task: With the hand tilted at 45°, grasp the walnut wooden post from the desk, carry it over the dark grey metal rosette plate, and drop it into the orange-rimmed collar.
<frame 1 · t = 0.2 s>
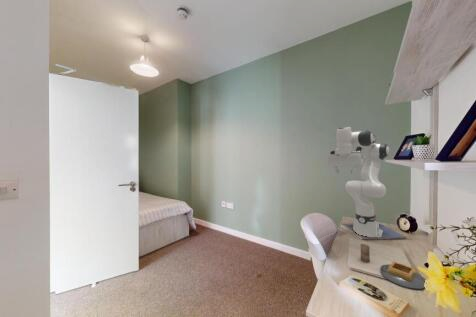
hand: (344, 173, 117), 47 cm above the table, tool pointing down, fingers open, 8 cm apart
walnut post: (365, 260, 100), on the table
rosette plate: (402, 277, 85), on the table
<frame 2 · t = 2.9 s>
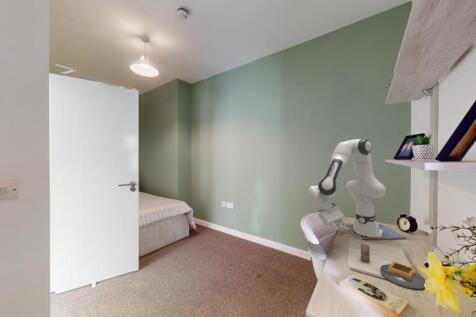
hand: (341, 227, 110), 14 cm above the table, tool tilted 45°, fingers open, 8 cm apart
nothing on the table moved.
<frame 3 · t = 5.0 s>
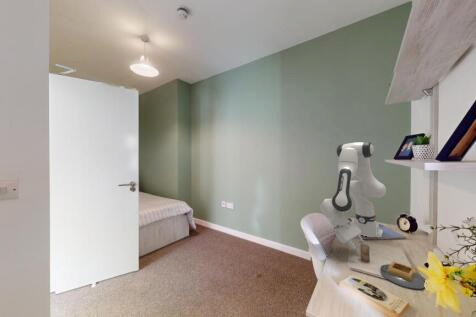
hand: (359, 246, 102), 7 cm above the table, tool tilted 45°, fingers open, 8 cm apart
nothing on the table moved.
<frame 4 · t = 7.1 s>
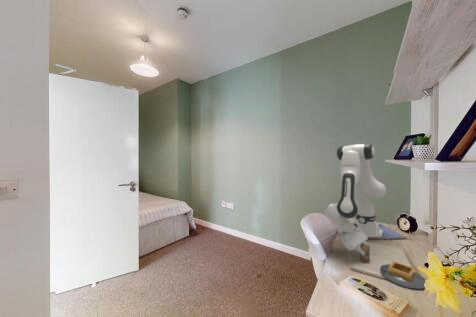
hand: (366, 252, 99), 4 cm above the table, tool tilted 45°, fingers closed on walnut post, 4 cm apart
walnut post: (365, 260, 100), on the table, touching gripper
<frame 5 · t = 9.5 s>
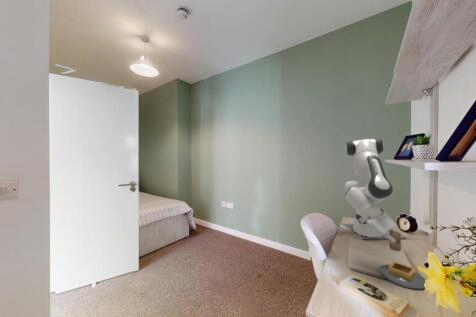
hand: (396, 240, 86), 17 cm above the table, tool tilted 45°, fingers closed on walnut post, 4 cm apart
walnut post: (395, 249, 87), point 13 cm above the table, touching gripper
when the fingers open (7 cm above the table, at t = 12.2 s): walnut post drops 1 cm, resting on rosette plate.
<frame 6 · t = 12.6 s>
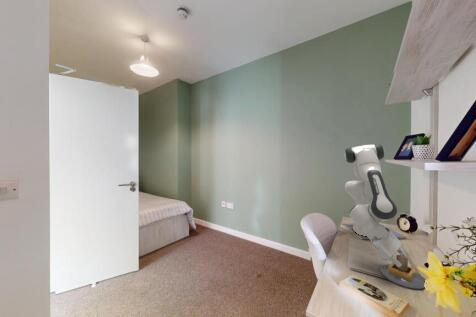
hand: (403, 262, 85), 7 cm above the table, tool tilted 45°, fingers open, 8 cm apart
walnut post: (401, 274, 85), point 2 cm above the table, touching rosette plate
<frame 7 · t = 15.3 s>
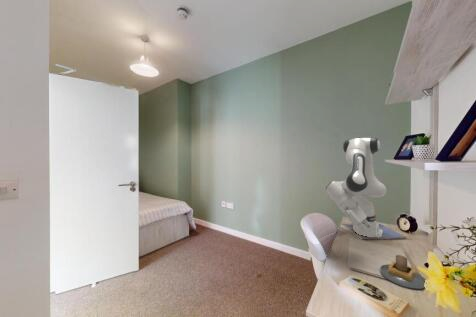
hand: (368, 229, 97), 18 cm above the table, tool tilted 40°, fingers open, 8 cm apart
nothing on the table moved.
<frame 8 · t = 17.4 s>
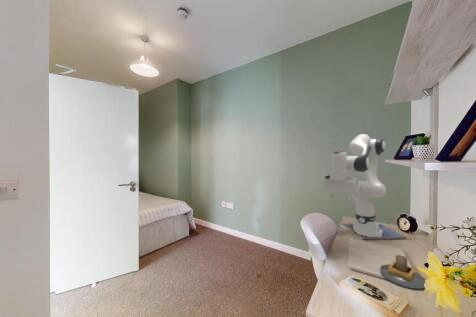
hand: (340, 198, 113), 31 cm above the table, tool pointing down, fingers open, 8 cm apart
nothing on the table moved.
at the end: walnut post 0.0 cm off-centre on the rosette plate, point 1.5 cm above the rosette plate's base; walnut post tilted 0°; the gripper is holding nothing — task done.
